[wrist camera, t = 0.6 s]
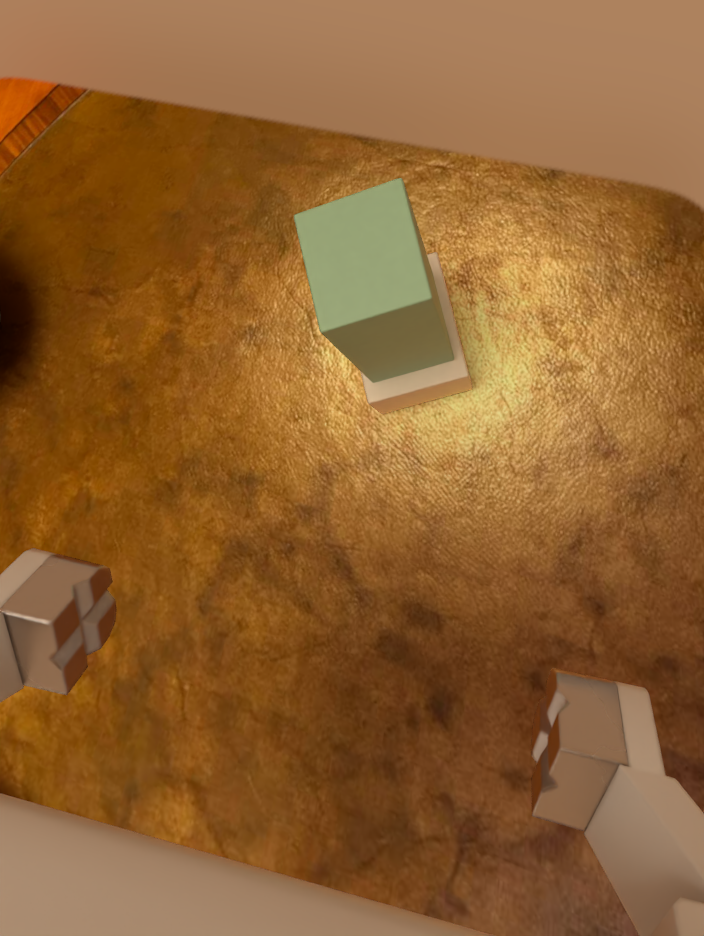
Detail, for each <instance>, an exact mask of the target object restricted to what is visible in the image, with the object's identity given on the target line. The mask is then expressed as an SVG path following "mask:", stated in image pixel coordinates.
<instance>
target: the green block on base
mask: <svg viewBox="0 0 704 936" xmlns="http://www.w3.org/2000/svg"><path fill="white" fill-rule="evenodd" d="M294 220H295V224H296V229H297V233H298V238H299V242H300V246H301V251H302V255H303V259H304V264H305V268H306V272H307V277H308V281H309V286H310V290H311V294H312V299H313V303H314V307H315V312H316V316H317V320H318V325H319V329H320V332H321V333H322V334H323V335H324V336H325V337H326V338H327V339H328V340H329V341H330V342H331V343H332V344H333V345H334V346H335V347H336V348H337V349H338V350H339V351H340V352H342V353H343V354H344V355H345V356H346V357H347V358H348V359H349V360H350V361H351V362H352V363H353V364H354V365H355V366H356V367H357V368H358V369H359V370H360V371H361V376H362V380H363V384H364V388H365V393H366V397H367V401H368V403H369V404H370V405H371V406H372V407H373V408H375V409H376V410H377V411H378V412H380V413H381V414H384V413H388V412H392V411H395V410H399V409H403V408H406V407H410V406H414V405H417V404H421V403H425V402H428V401H432V400H436V399H439V398H443V397H446V396H450V395H454V394H457V393H461V392H465V391H468V390H471V389H472V383H471V379H470V375H469V371H468V368H467V364H466V360H465V356H464V352H463V348H462V344H461V340H460V337H459V333H458V329H457V325H456V321H455V317H454V313H453V309H452V305H451V302H450V298H449V294H448V290H447V286H446V282H445V278H444V275H443V271H442V267H441V264H440V260H439V257H438V253H437V252H434V253H431V254H428V255H427V254H426V251H425V247H424V244H423V241H422V238H421V235H420V232H419V229H418V226H417V222H416V219H415V216H414V213H413V210H412V207H411V204H410V201H409V197H408V194H407V191H406V188H405V185H404V182H403V179H402V178H398V179H395V180H392V181H389V182H387V183H384V184H381V185H378V186H375V187H372V188H369V189H367V190H364V191H361V192H358V193H355V194H352V195H350V196H347V197H344V198H341V199H338V200H335V201H332V202H330V203H327V204H324V205H321V206H318V207H315V208H312V209H310V210H307V211H304V212H301V213H298V214H295V215H294Z"/></svg>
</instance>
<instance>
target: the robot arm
mask: <svg viewBox="0 0 704 936" xmlns="http://www.w3.org/2000/svg"><path fill="white" fill-rule="evenodd" d="M112 582H113V581H112V576H111V571H110V568H108V567H106V566H103V565H99V564H95V563H91V562H88V561H84V560H80V559H76V558H72V557H68V556H64V555H60V554H55V553H51V552H47V551H43V550H39V549H35V548H33V549H30V550H27V551H25V552H24V553H22V554H21V555H20V556H19V557H18V558H17V559H16V560H15V561H14V562H13V563H12V564H11V565H10V566H9V567H8V568H7V569H6V570H5V571H4V572H3V573H2V574H1V575H0V702H2V701H3V700H5V699H6V698H8V697H10V696H11V695H13V694H14V693H16V692H18V691H19V690H21V689H23V687H24V686H23V685H25V686H30V687H34V688H38V689H43V690H47V691H51V692H56V693H60V694H65V695H67V694H68V693H69V692H70V690H71V689H72V688H73V686H74V685H75V684H76V682H77V681H78V679H79V678H80V677H81V675H82V674H83V673H84V671H85V670H86V668H87V667H88V664H87V655H89V654H91V653H93V652H95V651H97V650H99V649H101V648H102V646H103V645H104V643H105V642H106V641H107V639H108V638H109V636H110V634H111V631H112V628H113V626H114V623H115V619H116V610H117V609H116V601H115V599H114V597H113V596H112V595H111V594H110V593H109V591H108V590H107V588H108V587H109V586H110V585H111V583H112ZM531 755H532V757H533V758H534V760H535V761H536V763H537V765H536V768H535V771H534V773H533V776H532V778H531V789H532V816H533V817H536V818H540V819H543V820H547V821H550V822H554V823H557V824H561V825H564V826H568V827H571V828H574V829H578V830H581V831H585V833H584V835H585V837H586V839H587V840H588V842H589V844H590V846H591V848H592V850H593V851H594V853H595V855H596V857H597V859H598V861H599V863H600V864H601V866H602V868H603V870H604V872H605V874H606V875H607V877H608V879H609V881H610V883H611V885H612V886H613V888H614V890H615V892H616V894H617V896H618V897H619V899H620V901H621V903H622V905H623V907H624V909H625V910H626V912H627V914H628V916H629V918H630V920H631V921H632V923H633V925H634V927H635V929H636V931H637V932H638V934H639V936H704V813H703V812H702V810H701V809H700V808H699V807H698V805H697V804H696V803H695V802H694V801H693V799H692V798H691V797H690V796H689V794H688V793H687V792H686V791H685V790H684V788H683V787H682V786H681V785H680V783H679V782H678V781H677V780H676V779H675V778H672V777H668V776H666V774H665V770H664V765H663V760H662V755H661V750H660V745H659V740H658V735H657V730H656V725H655V720H654V715H653V710H652V706H651V701H650V696H649V693H648V691H647V690H646V688H644V687H639V686H635V685H630V684H625V683H621V682H616V681H611V680H608V679H603V678H599V677H594V676H589V675H585V674H580V673H576V672H571V671H566V670H562V669H557V668H553V669H552V670H551V671H550V673H549V676H548V678H547V681H546V696H545V697H543V698H542V699H540V700H539V703H538V706H537V709H536V712H535V716H534V721H533V727H532V737H531ZM0 936H495V935H492V934H488V933H485V932H481V931H478V930H474V929H471V928H467V927H464V926H460V925H457V924H454V923H450V922H447V921H443V920H440V919H436V918H433V917H429V916H426V915H422V914H419V913H415V912H412V911H408V910H405V909H401V908H398V907H394V906H391V905H388V904H384V903H381V902H377V901H374V900H370V899H367V898H363V897H360V896H356V895H353V894H349V893H346V892H342V891H339V890H335V889H332V888H328V887H325V886H322V885H318V884H315V883H311V882H308V881H304V880H301V879H297V878H294V877H290V876H287V875H283V874H280V873H276V872H273V871H269V870H266V869H262V868H259V867H256V866H252V865H249V864H245V863H242V862H238V861H235V860H231V859H228V858H224V857H221V856H217V855H214V854H210V853H207V852H203V851H200V850H196V849H193V848H189V847H186V846H182V845H179V844H175V843H172V842H168V841H165V840H161V839H158V838H154V837H151V836H147V835H144V834H140V833H137V832H133V831H130V830H126V829H123V828H119V827H116V826H112V825H109V824H106V823H102V822H99V821H95V820H92V819H88V818H85V817H81V816H78V815H74V814H71V813H67V812H64V811H60V810H57V809H53V808H50V807H46V806H43V805H40V804H36V803H33V802H29V801H26V800H22V799H19V798H15V797H12V796H8V795H5V794H1V793H0Z"/></svg>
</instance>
